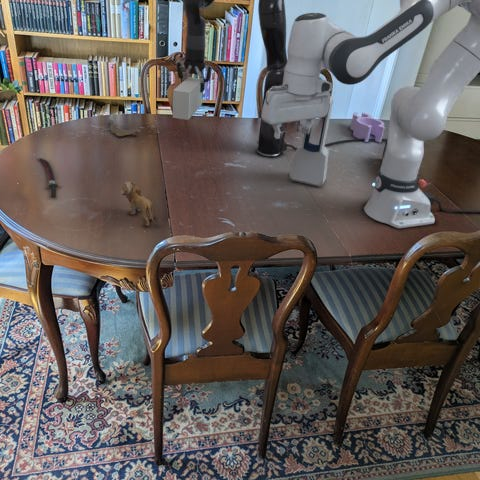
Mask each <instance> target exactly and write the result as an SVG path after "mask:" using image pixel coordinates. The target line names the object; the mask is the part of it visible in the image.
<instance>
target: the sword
mask: <svg viewBox="0 0 480 480" xmlns="http://www.w3.org/2000/svg"><path fill="white" fill-rule="evenodd" d="M40 161H41V162H42V163H43V165H44V166H45V169H46V173H47V176H48V185H47V188H50V198H56V197H57V189H56V188H57V187H59V185H58V184H57V183H56V180H55V176H54V172H53V169H52V167H51V164H50V163H49V161H48V160H46V159H43V158H40Z"/></svg>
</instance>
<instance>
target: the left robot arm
mask: <svg viewBox="0 0 480 480" xmlns="http://www.w3.org/2000/svg"><path fill="white" fill-rule="evenodd" d="M182 2H183V8H184V14H185V19H186V34H185V47H184V51H185V53H184V57H185V58H184V61H181V60H179V61H177V63H176V66H177V67H176V70H177V77H178V79H181V80H182V82H183V81H185V80H186V79H187V78H188V77H189V76H190V75H195V76H198V79H200V80H201V87H200V92H201V93H202V92H204V91H205V89H206V83H209V82H210V80H211V76H212V72H213V65H207V64H206V62H205V59H206V58H205V57H206V29H207V28H206V26H207V25H206V23H207V22H206V19H205V18H204V17H202V16H201V12H200V11H201V10H205V9H207V8H209V7H210V6H212V5H213V3H214V2H215V0H182ZM257 5H258V6H257V10H258V11H257V13H258V21H259V28H260V34H261V38H262V42H263V45H264V49H265V59H266V75H265V79H264V87H263V94H262V95H263V97H262V105H261V110H262V109H263V105H264V101H265V98H266V93H267V91H268V90H269V89H270V88H271V87H272V86H280V85H283V78H284V71H285V66H286V64H287V61H288V54H287V15H286V5H285V0H258V4H257ZM183 68H185V72H184V73H183ZM204 70H205V72H206V76H205V75H204ZM270 91H271V90H270ZM202 94H203V93H202ZM261 115H262V113H261V114H260V116H261ZM279 128H280V131H281V132H283V138H281V139H276V138H275V137H274V134H275V131H274V128H273V126H272V124H271V125H270V124H268V123H266V122H264V121H263V120H262V118H261V117H260V123H259V131H258V138H257V139H258V140H256V145H257V148H256V153H257V154H258V155H259V156H262V157H264V158H265V157H266V158H277V157H279V156H281V155H282V154H283V152H286V151H287V149H288V148H292V149H293V150H295V151H296V150H297V148H298V147H295V146H294V145H293V144H289V143H287V142H286V141H285V136H286V130H284V128H285V123H282V124H281V127H279ZM364 140H365V139H358V138H351V139H343V140H336V141H333V142H329V143H325V145H324V147H326V148H327V147H328V146H332V145H336V144H342V143H348V142H362V141H363V142H364ZM386 140H387V138H382V140H381V142H386ZM369 141H370V142H372V141H373V142H376V141H375V138H369V140H368V142H369Z"/></svg>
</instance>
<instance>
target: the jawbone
mask: <svg viewBox="0 0 480 480" xmlns="http://www.w3.org/2000/svg"><path fill="white" fill-rule="evenodd" d="M108 122H109V124H110V128H109V130H110V132H111V133H113V134H114V135H115V136H116V137H124V136H129V135H132V136H133V137H136V132H137V133H140V132H142V130H141V129H138V128H133V129H129V130H122V129H121V128H119V127H118V124H115V121H114V120H113V119H108Z"/></svg>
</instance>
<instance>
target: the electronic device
mask: <svg viewBox="0 0 480 480" xmlns="http://www.w3.org/2000/svg"><path fill="white" fill-rule="evenodd" d="M334 100H335V98H334V97H332V96H331V95H330V104H329V109H328V113H327V114H326V116H325V117H323V120H322V126H321V132H320V136H319V140H318V144H315V143H311V142H310V139H311V133H312V129H313V126H312V127H311V128H310V133H309V134H305V135H304V134H303V138H302V143H300V144H299V145H298V147H296V148H297V150H295V152H294V156H293V159H292V162H291V166H290V169H289V173H288V178H289V180H290V181H292V182H297V183H301V184H305V185H309V186H314V187H318V188H320V187H321V186H322V185H324V183H325V181H326V179H327V173H328V163H329V162H328V161H329V153H330V150H329V149H328V148H327V146H326V147H324V145H325V144H326V140H327V135H328V130H329V125H330V119H331V114H332V109H333V104H334ZM306 122H307V120H305V123H306Z"/></svg>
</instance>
